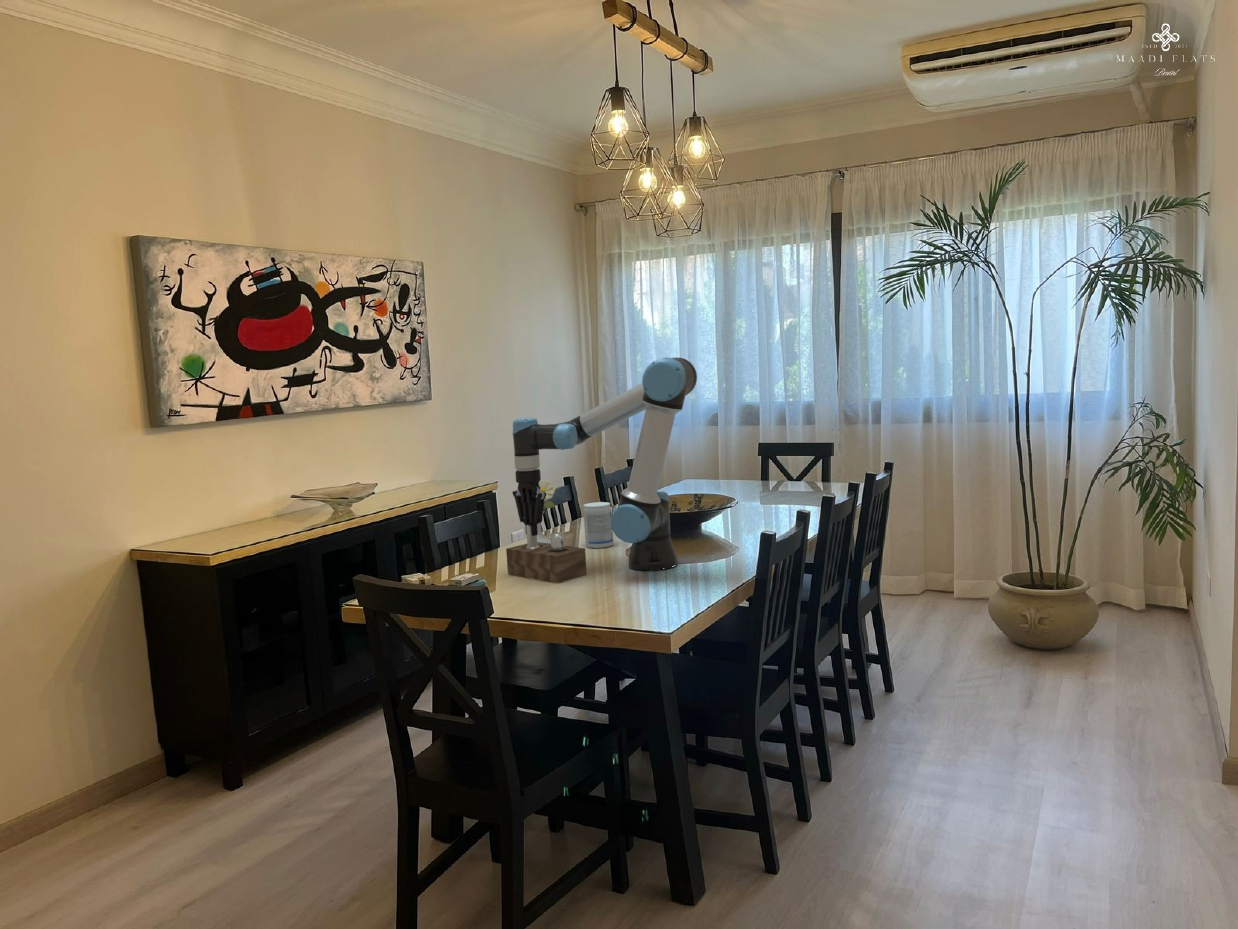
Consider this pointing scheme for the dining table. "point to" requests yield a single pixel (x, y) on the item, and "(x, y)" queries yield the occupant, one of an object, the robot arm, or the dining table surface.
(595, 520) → the supplement tub
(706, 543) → the dining table surface
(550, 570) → the block
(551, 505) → the flower in vase
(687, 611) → the dining table surface
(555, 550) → the peg near
